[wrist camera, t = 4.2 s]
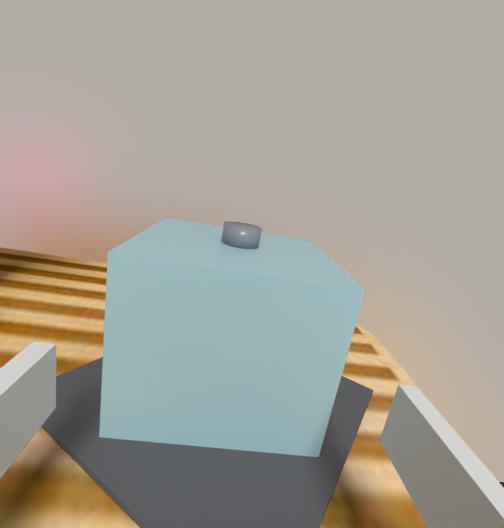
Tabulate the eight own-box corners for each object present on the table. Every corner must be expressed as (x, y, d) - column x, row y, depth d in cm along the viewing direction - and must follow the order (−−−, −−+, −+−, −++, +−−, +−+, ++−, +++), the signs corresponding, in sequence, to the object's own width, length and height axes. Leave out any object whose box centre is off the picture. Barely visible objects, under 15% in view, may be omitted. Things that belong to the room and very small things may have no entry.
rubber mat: (15, 399, 18) (15, 393, 18) (205, 317, 32) (206, 313, 32) (267, 657, 10) (269, 650, 10) (372, 394, 24) (373, 390, 24)
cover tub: (99, 437, 16) (109, 224, 13) (155, 329, 27) (167, 202, 24) (318, 457, 17) (372, 265, 14) (285, 345, 28) (311, 226, 26)
